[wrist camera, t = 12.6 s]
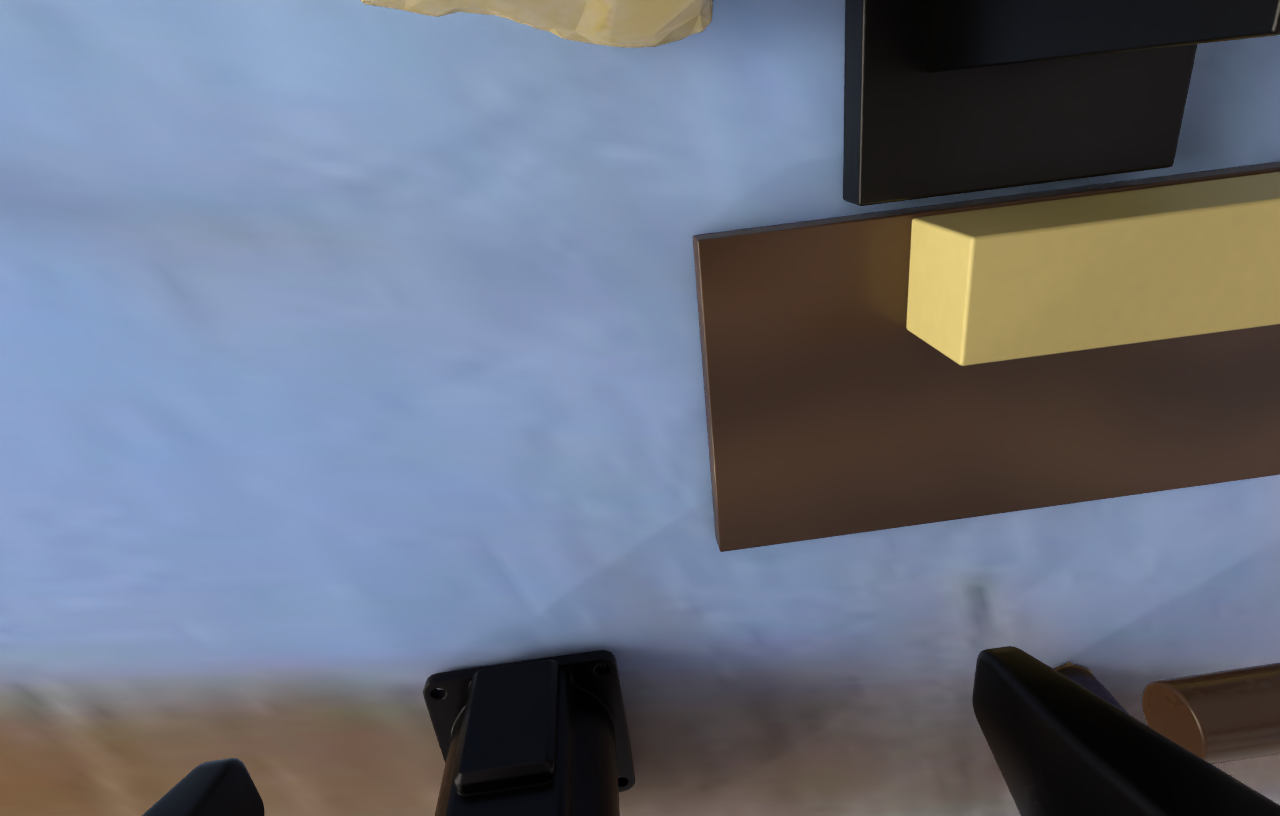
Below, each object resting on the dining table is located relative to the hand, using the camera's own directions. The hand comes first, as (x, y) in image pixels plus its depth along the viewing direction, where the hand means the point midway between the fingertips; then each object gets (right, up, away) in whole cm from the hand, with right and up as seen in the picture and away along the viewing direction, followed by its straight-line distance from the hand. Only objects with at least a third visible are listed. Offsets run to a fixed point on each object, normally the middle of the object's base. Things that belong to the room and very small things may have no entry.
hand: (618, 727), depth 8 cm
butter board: (+11, +5, +12) cm, 17 cm away
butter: (+12, +8, +10) cm, 18 cm away
